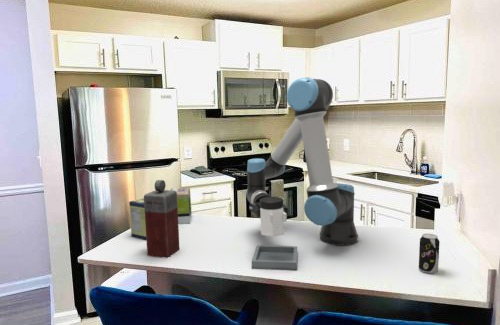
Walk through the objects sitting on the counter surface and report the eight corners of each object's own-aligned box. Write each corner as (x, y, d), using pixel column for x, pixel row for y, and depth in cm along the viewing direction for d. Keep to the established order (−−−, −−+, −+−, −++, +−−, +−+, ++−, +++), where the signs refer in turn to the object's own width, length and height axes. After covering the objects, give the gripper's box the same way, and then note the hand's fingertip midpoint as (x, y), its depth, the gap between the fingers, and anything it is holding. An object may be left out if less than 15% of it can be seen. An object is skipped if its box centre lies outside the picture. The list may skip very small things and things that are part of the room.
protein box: (173, 230, 170) (172, 196, 167) (148, 240, 156) (145, 204, 154) (156, 226, 175) (154, 194, 173) (130, 236, 162) (128, 201, 159)
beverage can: (441, 274, 120) (443, 238, 118) (424, 275, 119) (426, 238, 118) (431, 266, 125) (433, 232, 124) (415, 267, 125) (416, 233, 123)
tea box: (172, 216, 192) (170, 187, 190) (191, 215, 193) (190, 186, 191) (169, 224, 177) (167, 194, 175) (190, 223, 178) (189, 193, 176)
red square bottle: (154, 246, 149) (150, 177, 145) (179, 249, 146) (176, 178, 142) (141, 254, 141) (136, 181, 137) (168, 258, 137) (164, 182, 133)
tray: (297, 253, 140) (297, 246, 139) (296, 270, 125) (296, 262, 124) (257, 251, 142) (256, 245, 141) (251, 268, 127) (251, 261, 127)
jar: (267, 238, 126) (266, 203, 124) (255, 231, 133) (254, 198, 131) (289, 233, 130) (288, 199, 128) (277, 227, 137) (276, 195, 136)
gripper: (282, 209, 151) (302, 227, 128) (241, 212, 147) (254, 231, 125) (282, 191, 150) (303, 205, 127) (240, 193, 146) (254, 209, 123)
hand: (278, 218), depth 126 cm, fingers closed on jar, 4 cm apart
